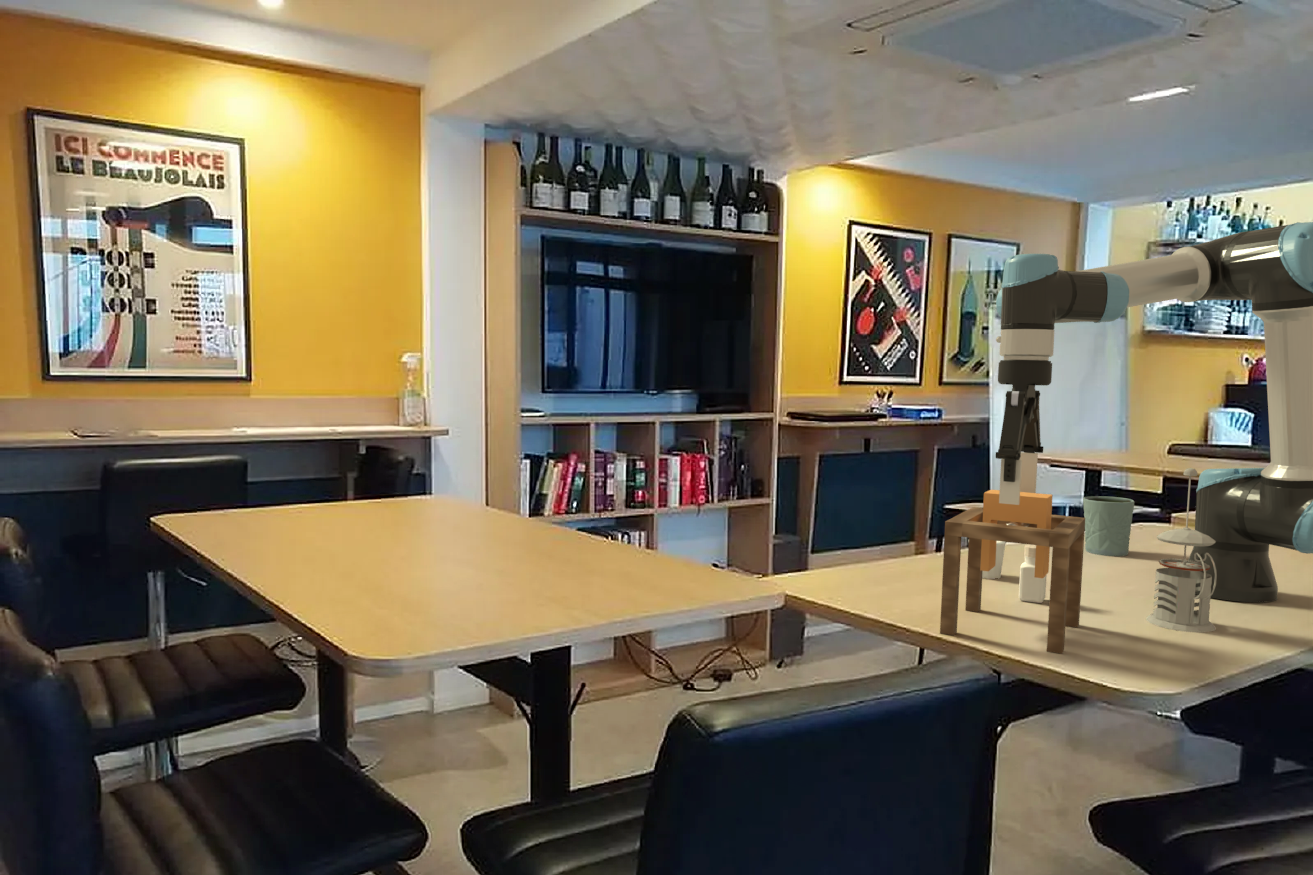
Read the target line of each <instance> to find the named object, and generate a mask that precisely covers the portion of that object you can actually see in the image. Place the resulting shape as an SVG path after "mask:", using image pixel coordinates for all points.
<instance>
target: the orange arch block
mask: <svg viewBox="0 0 1313 875" xmlns="http://www.w3.org/2000/svg"><path fill="white" fill-rule="evenodd" d="M999 493H1000V489H990V490H989V489H988V490H987V491H985V492H984V493H983V506H982V508H983V522H984V523H994V524H997V520H1000V521H1010V522H1020V523H1030V524H1037V528H1042V529H1051V515H1053V514H1052V513H1053V512H1052V511H1053V494H1051V493H1050V494H1049V493H1037V492H1036V493H1027V492H1020V503H1019V505H1014V504H1003V503H999ZM1050 549H1051V547H1047V546H1039V545H1036V556H1035V576H1034V577H1036V578H1044V577H1045V576H1046V575H1047V574H1049V569H1050ZM995 562H996V541H995V540H986V539H982V544H981V566H980V570H981V571H990V570H991V569H992V568H993V567H994V566H995ZM1046 577H1047V576H1046Z"/></svg>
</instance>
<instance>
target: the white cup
mask: <svg viewBox="0 0 1313 875" xmlns="http://www.w3.org/2000/svg"><path fill="white" fill-rule="evenodd" d="M968 543H969V539H968ZM1006 543H1007V542H1003V541H996V562H995V566H994V567H993V568H992V569H991V570H990V571H983V572H982V579H983V578H987V579H986V580H996V579H995V578H998V579H1000V578H1001V575H1002V569H1003V562H1004V555H1005V549H1006Z"/></svg>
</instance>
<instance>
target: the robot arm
mask: <svg viewBox="0 0 1313 875" xmlns="http://www.w3.org/2000/svg"><path fill="white" fill-rule="evenodd" d="M1058 259H1059V258H1058V257H1057V256H1056V255H1054V254H1050V253H1023V254H1016V255H1015V254H1014V255H1011V256H1010V257H1008V258H1007V259H1006V261H1005V263H1004V268H1003V273H1002V283H1001V286H1000V287H1001V288H1000V290H999V292H998V293H997V296H996V300H995V305H996V306H995V307H996V311H997V314H998V316H999V317H1000V336H997V337H996V338H995V341H996V343H999V355H1000V356H1001V357H1003V359H1002V360H1001V359H1000V360H999V362H998V370H997V382H998V384H1000V385H1011V386H1012V388H1011V391H1010V390H1007V391H1006V393H1005V407H1004V414H1003V418H1002V428H1001V432H1000V433H1001V434H1000V438H999V439H1000V441H999V447H998V450H997V451H996V452H995V459H996V460H997V459H998V460H999V459H1000V473H999V474H1000V478H999V490H1000V493H999V503H1003V504H1014V505H1019V503H1020V492H1027V493H1037V480H1038V479H1037V478H1038V477H1037V476H1038V462H1039V461H1038V460H1039V459H1038V457H1039V454H1043V453H1044V446H1042V442H1041V421H1040V420H1041V419H1040V418H1041V417H1040V415H1041V414H1040V396H1041V392H1040V390H1036V386H1049V385H1051V383H1052V376H1053V375H1052V372H1053V362H1052V361H1051V360H1049V359H1050V358H1051V357H1053V356H1054V348H1055V347H1054V346H1055V324H1061V323H1063V324H1064V323H1083V322H1084V323H1087V322H1089V323H1090V322H1091V323H1095V324H1100V323H1109V322H1114V321H1116V320H1118V319H1119V318H1121V316H1123V314H1125V312H1126V310H1127V308H1132V307H1138V306H1143V305H1148V304H1154V303H1155V304H1156V303H1161V302H1167V301H1173V300H1178V301H1180V302H1181V303H1192V302H1193V303H1194V302H1199V301H1216V300H1219V301H1225V300H1226V301H1251V311H1252V312H1251V313H1252V314H1254V315H1255V316H1256V317H1257V318H1259V319H1260V320H1262V322H1263V333H1264V334H1263V335H1264V349H1265V353H1264V354H1265V369H1266V370H1265V371H1266V372H1265V373H1266V391H1267V392H1266V393H1267V394H1266V395H1267V406H1268V407H1267V409H1268V410H1267V412H1268V431H1269V433H1268V434H1269V446H1270V447H1269V452H1270V462H1269V464H1268V465H1267V466H1266V467H1249V468H1248V467H1247V468H1246V467H1245V468H1244V467H1242V468H1239V467H1238V468H1237V467H1236V468H1235V467H1234V468H1232V467H1231V468H1207V469H1204V470H1203V471H1202V472H1200V474H1199V477H1198V483H1197V488H1196V490H1195V491H1196V494H1195V496H1196V499H1195V518H1194V519H1195V520H1194V521H1195V522H1194V530H1196V531H1199V532H1201V533H1203V534H1205V535H1208V536H1210V537H1211V538H1212V539H1213V540H1215V543H1214V544H1213V545H1211V546H1192V549H1191V552H1190V554H1189V557H1188V558H1187V561H1188V560H1189V561H1190V560H1191V561H1193V562H1197V561H1195V559H1194V554H1195V553H1198V554H1199V555H1200V556H1201V558H1202V560H1203V559H1204V558H1205V554H1206V553H1209V555H1210V556H1211V557H1212V559H1213V561H1214V563H1215V567H1216V574H1217V577H1216V586H1215V589H1214V592H1213V594H1212V595H1211V596H1210V599H1211V598H1212V599H1218V600H1223V601H1231V602H1243V603H1267V602H1268V603H1270V602H1274V601H1276V600H1278V590H1279V589H1278V587H1279V586H1278V582H1277V580H1276V576H1275V573H1274V570H1273V566H1272V563H1271V560H1270V556H1269V555H1270V554H1269V552H1270V545H1271V546H1275V547H1280V548H1284V549H1289V550H1292V551H1293V550H1294V551H1297V552H1299V553H1302V554H1313V221H1308V222H1302V221H1301V222H1298V221H1297V222H1294V223H1290V224H1284V225H1279V226H1274V227H1266V228H1261V229H1255V230H1246V231H1241V232H1237V233H1233V234H1229V235H1226V236H1223V237H1219V238H1216V239H1213V240H1209V241H1205V242H1202V243H1199V244H1195V245H1190V246H1189V245H1188V246H1183V247H1180V248H1178V249H1176V250H1174V252H1173V253H1172V254H1170V255H1165V256H1159V257H1153V258H1146V259H1141V260H1136V261H1128V262H1124V263H1116V264H1113V265H1112V264H1111V265H1105V266H1100V267H1094V268H1089V269H1083V270H1076V271H1074V270H1062V269H1059V268H1060V267H1059V260H1058ZM1196 559H1197V560H1200V558H1199V556H1198V555H1197V554H1196ZM1203 562H1204V563H1206V564H1207V565H1209V566H1210V569H1209V570H1207V571H1206V573H1208V574H1210V575H1211V576H1212V584H1211V592H1212V590H1213V586H1214V580H1215V572H1214V566H1213V563H1212V561H1211V559H1210V557H1209V556H1208V555H1206V560H1205V561H1203ZM1201 563H1202V562H1201ZM1200 572H1204V571H1200ZM1200 585H1201V583H1196V587H1200ZM1199 594H1200V591H1197V592H1195V595H1199Z"/></svg>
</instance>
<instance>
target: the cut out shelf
mask: <svg viewBox="0 0 1313 875" xmlns="http://www.w3.org/2000/svg"><path fill="white" fill-rule="evenodd" d="M962 538H968V540H969V542H968V547H967V549H968V550H967V567H966V569H967V570H966V571H967V572H966V590H965V611H969V612H974V613H978V612H980V611H981V608H982V606H981V605H982V591H983V590H982V587H983V578H982V572H983V571H981V570H980V566H981V544H982V539H986V540H995V541H1003V542H1006V543H1014V544H1021V545H1022V544H1023V545H1039V546H1047V547H1050V548H1052V552H1051V554H1052V555H1051V568H1050V569H1051V570H1050V571H1051V572H1050V589H1049V607H1048V623H1047V638H1046V639H1047V642H1046V643H1047V644H1046V652H1050V653H1055V654H1060V655H1062V654H1063V653H1064V651H1065V642H1066V641H1065V638H1066V627H1070V628H1071V627H1072V628H1078V627H1079V625H1080V619H1081V616H1080V615H1081V614H1080V613H1081V597H1082V582H1083V579H1082V578H1083V565H1084V564H1083V562H1084V548H1085V546H1084V545H1085V518H1084V517H1082V516H1081V517H1079V516H1069V515H1059V514H1052V515H1051V529H1042V528H1037V524H1030V523H1020V522H1010V521H1000V520H997V524H994V523H984V522H983V507H979V506H978V507H975V506H974V507H973V506H972V507H971V508H968V509H967V510H964V511H962V512H960V513H959V514H957V515H955V516H953V517H952V518H950V519H947V520H945V521H944V540H943V541H944V543H943V544H944V545H943V559H942V560H943V561H942V562H943V563H942V579H941V580H942V584H941V585H942V586H941V604H940V605H941V607H940V623H939V624H940V626H939V628H940V629H939V634H943V635H948V636H955V635H956V634H957V632H958V614H959V613H958V612H959V598H960V597H959V596H960V595H959V594H960V578H961V577H960V576H961V572H960V571H961V552H962Z"/></svg>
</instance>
